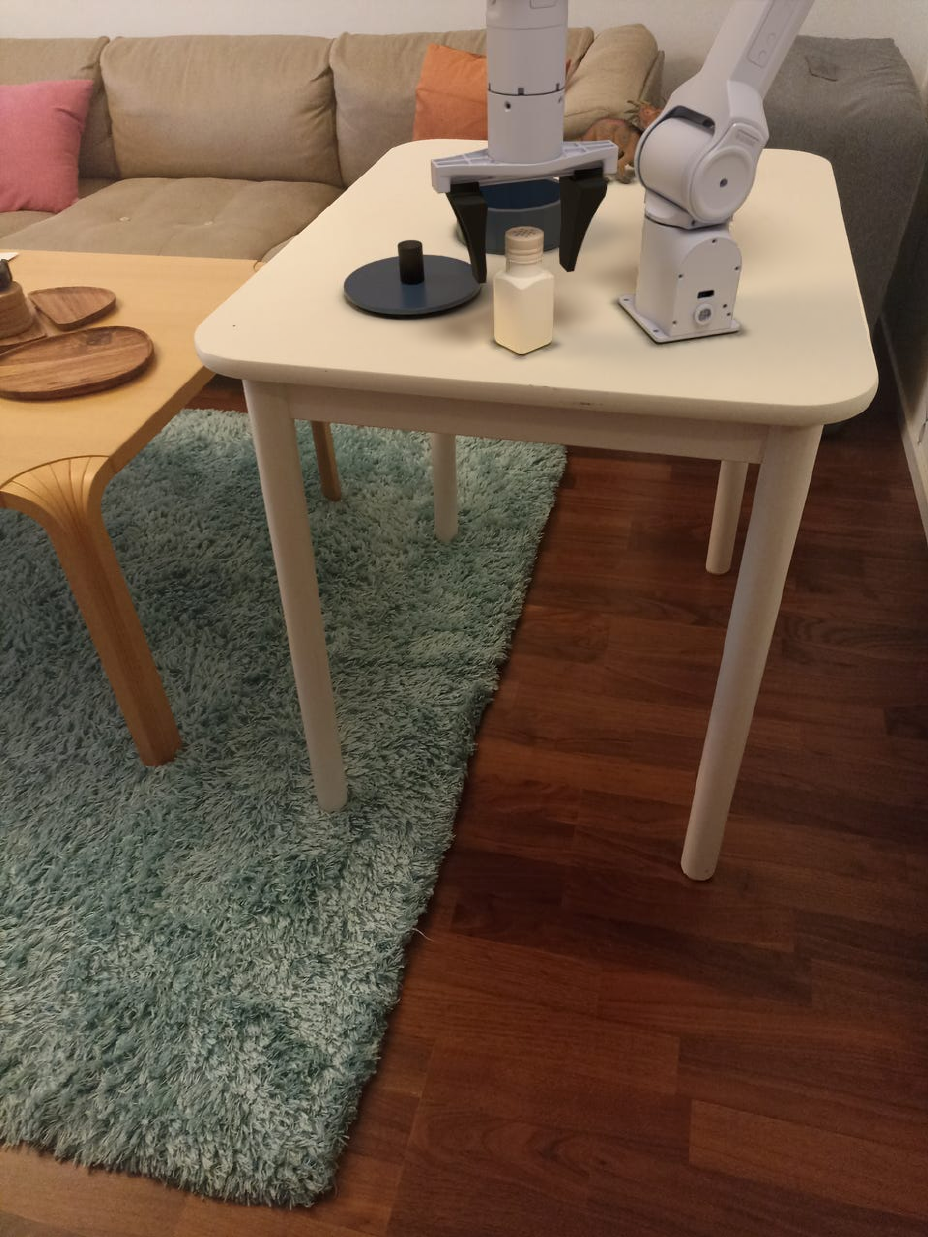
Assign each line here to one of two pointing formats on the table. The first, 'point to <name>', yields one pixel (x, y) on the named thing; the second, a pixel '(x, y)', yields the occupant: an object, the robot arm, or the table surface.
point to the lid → (411, 282)
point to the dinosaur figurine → (624, 133)
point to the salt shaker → (523, 293)
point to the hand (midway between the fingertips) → (523, 273)
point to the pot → (521, 211)
